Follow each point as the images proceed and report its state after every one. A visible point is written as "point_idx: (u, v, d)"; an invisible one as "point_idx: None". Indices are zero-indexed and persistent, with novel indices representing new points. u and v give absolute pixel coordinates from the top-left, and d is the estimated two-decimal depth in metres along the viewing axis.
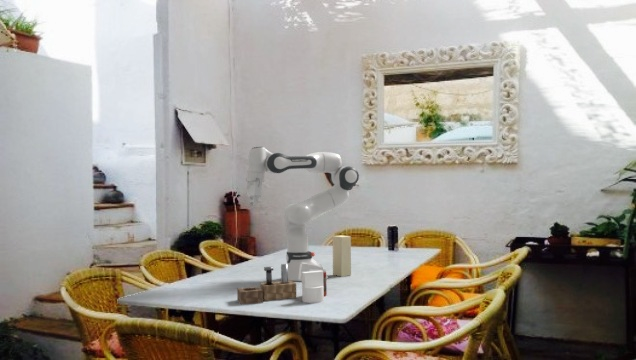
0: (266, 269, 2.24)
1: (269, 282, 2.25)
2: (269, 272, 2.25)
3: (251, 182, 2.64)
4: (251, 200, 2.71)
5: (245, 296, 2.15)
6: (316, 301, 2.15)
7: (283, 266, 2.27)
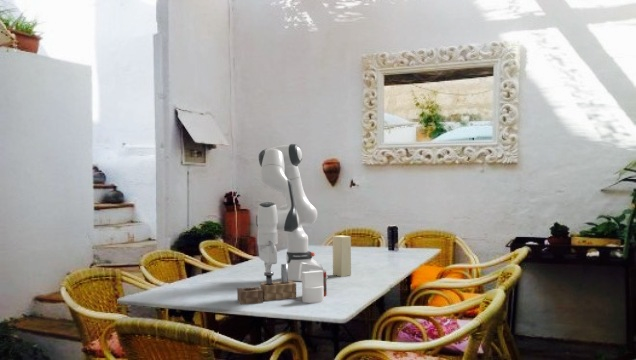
0: (266, 274, 2.24)
1: None
2: (269, 277, 2.25)
3: (263, 246, 2.23)
4: None
5: (245, 296, 2.15)
6: (316, 301, 2.15)
7: (283, 266, 2.27)
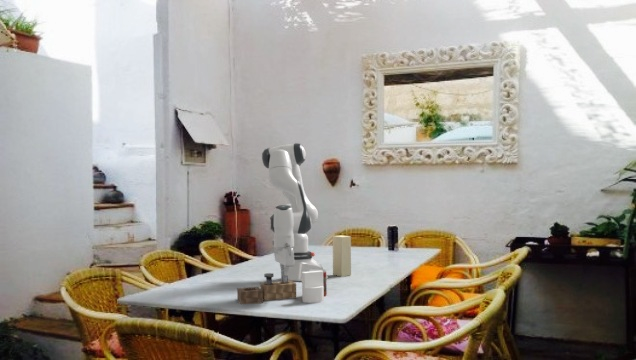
0: (266, 276, 2.24)
1: None
2: (269, 279, 2.25)
3: (280, 248, 2.26)
4: None
5: (245, 296, 2.15)
6: (316, 301, 2.15)
7: (283, 266, 2.27)
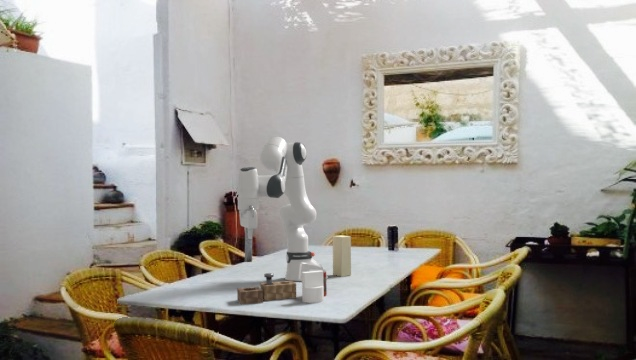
0: (266, 276, 2.24)
1: None
2: (269, 279, 2.25)
3: (244, 211, 2.18)
4: None
5: (245, 296, 2.15)
6: (316, 301, 2.15)
7: (247, 230, 2.19)
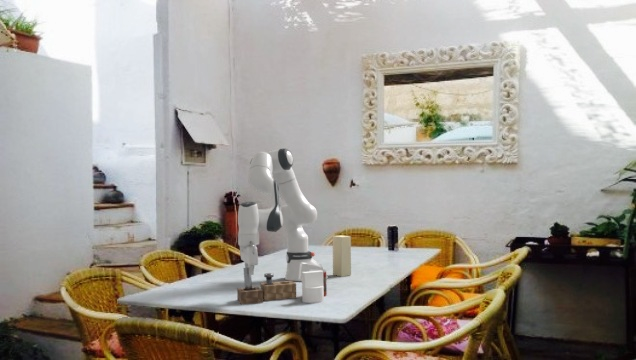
0: (266, 276, 2.24)
1: None
2: (269, 279, 2.25)
3: (244, 247, 2.18)
4: (247, 266, 2.24)
5: (245, 296, 2.15)
6: (316, 301, 2.15)
7: (245, 269, 2.19)
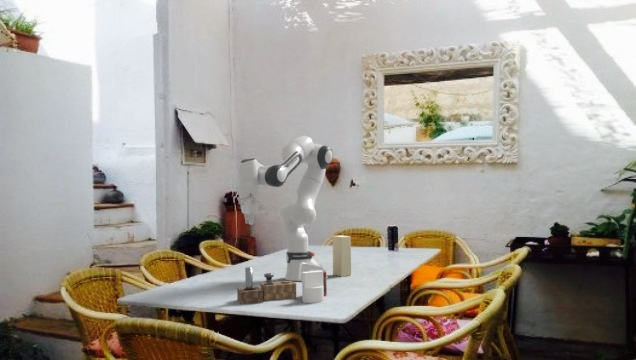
0: (266, 276, 2.24)
1: None
2: (269, 279, 2.25)
3: (244, 199, 2.37)
4: (247, 218, 2.45)
5: (245, 296, 2.15)
6: (316, 301, 2.15)
7: (247, 269, 2.19)
